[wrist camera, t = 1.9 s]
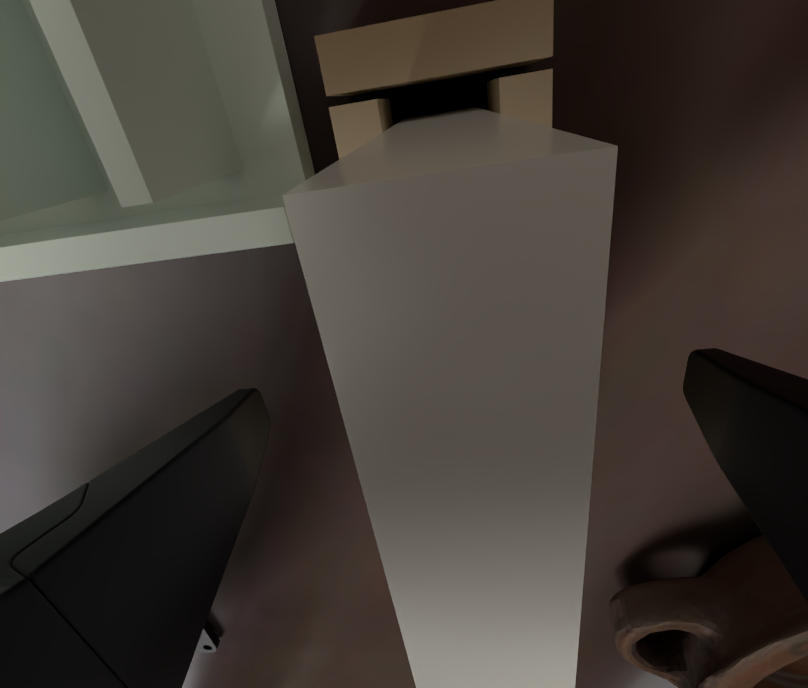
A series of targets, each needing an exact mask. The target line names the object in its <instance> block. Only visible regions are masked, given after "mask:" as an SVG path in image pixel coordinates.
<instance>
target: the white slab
mask: <svg viewBox="0 0 808 688" xmlns="http://www.w3.org/2000/svg"><path fill="white" fill-rule="evenodd" d="M617 152H618V146H616V145H613V144H609V143H605V142H602V141H598V140H594V139H591V138H587V137H583V136H580V135H576V134H572V133H569V132H565V131H561V130H558V129H554V128H550V127H547V126H543V125H539V124H536V123H532V122H528V121H525V120H521V119H517V118H514V117H510V116H506V115H503V114H499V113H495V112H492V111H488V110H484V109H481V108H477V107H473V108H467V109H461V110H455V111H449V112H443V113H437V114H431V115H425V116H419V117H413V118H407V119H403V120H402V121H400V122H399V123H397V124H395V125H394V126H392V127H391V128H389V129H387V130H386V131H384V132H383V133H381V134H379V135H378V136H376V137H375V138H373V139H371V140H370V141H368V142H367V143H365V144H363V145H362V146H360V147H359V148H357V149H355V150H354V151H352V152H351V153H349V154H347V155H346V156H344V157H343V158H341V159H339V160H338V161H336V162H335V163H333V164H331V165H330V166H328V167H327V168H325V169H324V170H322V171H320V172H319V173H317V174H316V175H314V176H312V177H311V178H309V179H308V180H306V181H304V182H303V183H301V184H300V185H298V186H296V187H295V188H293V189H292V190H290V191H288V192H287V193H285V194H284V195H282V197H283V201H284V205H285V208H286V212H287V216H288V219H289V223H290V226H291V230H292V234H293V237H294V241H295V245H296V248H297V252H298V256H299V259H300V263H301V267H302V270H303V274H304V278H305V281H306V285H307V289H308V292H309V296H310V300H311V303H312V307H313V311H314V314H315V318H316V322H317V325H318V329H319V333H320V336H321V340H322V344H323V347H324V351H325V355H326V358H327V362H328V366H329V369H330V373H331V377H332V380H333V384H334V388H335V391H336V395H337V399H338V402H339V406H340V410H341V413H342V417H343V421H344V424H345V428H346V432H347V435H348V439H349V443H350V446H351V450H352V454H353V457H354V461H355V465H356V468H357V472H358V476H359V479H360V483H361V487H362V490H363V494H364V498H365V501H366V505H367V509H368V512H369V516H370V520H371V523H372V527H373V531H374V534H375V538H376V542H377V545H378V549H379V553H380V556H381V560H382V564H383V567H384V571H385V575H386V578H387V582H388V586H389V589H390V593H391V597H392V600H393V604H394V608H395V611H396V615H397V619H398V622H399V626H400V630H401V633H402V637H403V641H404V644H405V648H406V652H407V655H408V659H409V663H410V666H411V670H412V674H413V677H414V681H415V684H416V688H575V681H576V669H577V656H578V643H579V631H580V618H581V606H582V593H583V580H584V568H585V555H586V543H587V530H588V517H589V505H590V492H591V480H592V467H593V454H594V442H595V429H596V417H597V404H598V391H599V379H600V366H601V354H602V341H603V328H604V316H605V303H606V291H607V278H608V266H609V253H610V240H611V228H612V215H613V203H614V190H615V177H616V165H617Z"/></svg>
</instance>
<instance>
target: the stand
mask: <svg viewBox="0 0 808 688" xmlns="http://www.w3.org/2000/svg"><path fill="white" fill-rule="evenodd" d="M553 12H554V0H495V1H490V2H485V3H480V4H475V5H470V6H465V7H460V8H455V9H449V10H444V11H439V12H434V13H429V14H424V15H419V16H414V17H409V18H404V19H399V20H393V21H388V22H383V23H378V24H373V25H368V26H363V27H358V28H353V29H348V30H343V31H337V32H332V33H327V34H322V35H317V36H314V38H315V43H316V48H317V53H318V58H319V63H320V68H321V73H322V78H323V82H324V87H325V92H326V96H354V95H359V94H365V93H371V92H376V91H382V90H388V89H394V88H399V87H405V86H411V85H416V84H422V83H428V82H433V81H439V80H445V79H451V78H456V77H462V76H468V75H473V74H479V73H485V72H490V71H496V70H502V69H508V68H513V67H519V66H525V65H530V64H532V63H535V62H538V61H541V60H543V59H546V58H549V57H552V56H553ZM552 92H553V69H547V70H542V71H536V72H530V73H524V74H518V75H513V76H507V77H501V78H497V79H494V80H491V81H488V82H487V97H488V111H492V112H495V113H499V114H503V115H506V116H510V117H514V118H517V119H521V120H525V121H528V122H532V123H536V124H539V125H543V126H547V127H550V128H552ZM329 112H330V117H331V122H332V127H333V131H334V136H335V141H336V146H337V151H338V156H339V159H341V158H343V157H344V156H346V155H347V154H349V153H351V152H352V151H354V150H355V149H357V148H359V147H360V146H362V145H363V144H365V143H367V142H368V141H370V140H371V139H373V138H375V137H376V136H378V135H379V134H381V133H383V132H384V131H386V130H387V129H389V128H391V127H392V126H393V121H392V114H391V107H390V100H389V99H374V100H368V101H362V102H357V103H351V104H345V105H339V106H334V107H329Z"/></svg>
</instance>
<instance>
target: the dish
mask: <svg viewBox="0 0 808 688" xmlns="http://www.w3.org/2000/svg"><path fill="white" fill-rule="evenodd" d="M609 617H610V622H611V625H612V628H613V633H614V638H615V642H616V647H617V649H618V651H619V652H620V653H621V655H622V656H623V657H624V658H625V659H626V660H628V661H629V662H630V663H632V664H633V665H635V666H637V667H639V668H641V669H642V670H644V671H647V672H650V673H652V674H655V675H657V676H659V677H662V678H664V679H667V680H668V681H670V682H671V683H672V684H674V685H675V686H677V687H678V688H808V603H807V602H806V600H805V599H804V597H803V596H802V594H801V593H800V591H799V589H798V588H797V586H796V585H795V583H794V582H793V580H792V578H791V577H790V575H789V574H788V572H787V571H786V569H785V568H784V566H783V564H782V563H781V561H780V560H779V558H778V557H777V555H776V554H775V552H774V550H773V549H772V547H771V546H770V544H769V543H768V541H767V539H766V538H765V536H764V535H761V536H758V537H756V538H754V539H752V540H750V541H748V542H747V543H745V544H743V545H741V546H740V547H738V548H736V549H734V550H733V551H731V552H729V553H728V554H726V555H725V556H723V557H722V558H721V559H720V560H719V561H717V562H716V563H715V564H714V565H713V566H712V567H711V568H710V569H709V570H707V571H706V572H705V573H704V574H703V575H702V576H700V577H679V578H671V579H663V580H656V581H649V582H645V583H640V584H636V585H633V586H630V587H627V588H624V589H623V590H621V591H619V592H618V593H616V594H615V596H614V597H613V598H612V599H611V601H610V604H609Z"/></svg>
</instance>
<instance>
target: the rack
mask: <svg viewBox="0 0 808 688" xmlns="http://www.w3.org/2000/svg"><path fill="white" fill-rule="evenodd" d="M314 175H315V172H314V167H313V163H312V159H311V154H310V150H309V146H308V142H307V137H306V133H305V129H304V124H303V120H302V116H301V111H300V107H299V103H298V98H297V94H296V90H295V86H294V81H293V77H292V73H291V68H290V64H289V60H288V55H287V51H286V47H285V43H284V38H283V34H282V30H281V25H280V21H279V17H278V12H277V8H276V4H275V0H0V282H2V281H10V280H18V279H25V278H33V277H40V276H48V275H55V274H63V273H71V272H78V271H86V270H93V269H101V268H109V267H116V266H124V265H131V264H139V263H147V262H154V261H162V260H169V259H177V258H184V257H192V256H200V255H207V254H215V253H222V252H230V251H238V250H245V249H253V248H260V247H268V246H275V245H283V244H291V243H294V242H295V241H294V237H293V234H292V230H291V226H290V223H289V219H288V216H287V212H286V208H285V205H284V201H283V197H282V195H284V194H285V193H287V192H288V191H290V190H292V189H293V188H295V187H296V186H298V185H300V184H301V183H303V182H304V181H306V180H308V179H309V178H311V177H312V176H314Z"/></svg>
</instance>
